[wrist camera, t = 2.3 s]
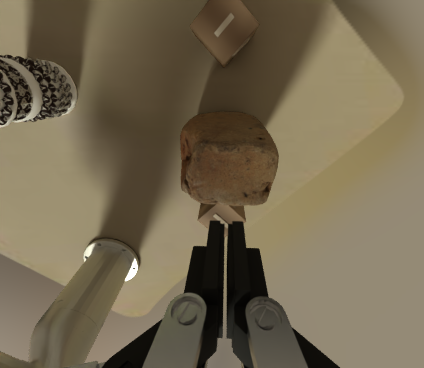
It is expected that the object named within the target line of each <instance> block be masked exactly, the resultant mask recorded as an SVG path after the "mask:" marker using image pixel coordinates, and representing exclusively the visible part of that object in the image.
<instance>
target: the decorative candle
mask: <svg viewBox="0 0 424 368" xmlns="http://www.w3.org/2000/svg"><path fill="white" fill-rule="evenodd" d="M35 61H36V62H34V60H33V59H32V58H30V57H28V58H27V59H24V58H22V57H19V56H16V57H15V58H14V57H13V56H11V55H5V56H2V55H0V128H1V127H4V126H8V125H9V124H10V123H11V122H21V121H23V122H28V121H29V120H30V121H32V122H35V121H37V120H38V119H40V120H43V119H45V118H54V117H59V116H61V115H65V114H68V113H70V112H71V111H72V110H73V109H74V108H75V105H76V102H77V89H76V86H75V84H74V82H73V79H72V77H71V76H70V75H69V74H68V73H67V72H66V70H65V69H64V68H63V67H61V66H59V65H58V64H56V63H54V62H52V61H45V60H40V59H36V60H35Z"/></svg>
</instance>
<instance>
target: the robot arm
mask: <svg viewBox="0 0 424 368" xmlns="http://www.w3.org/2000/svg"><path fill="white" fill-rule="evenodd" d="M224 232H225V224H221V221H217V220H210V224H209V232H208V240H207V246H194V247H193V250H192V255H191V260H190V265H189V270H188V275H187V280H186V286H185V290H184V293H183V294H180V295H178V296H176V297H175V298H174V299H173V300H172V301H171V302H170V304H169V305H168V308H167V310H166V313H165V315H164V318H163V319H162V320H160V321H159V322H158V323H156V324H155V325H154V326H152V327H151V328H150V329H148V330H147V331H146V332H144V333H143V334H142V335H140V336H139V337H138V338H136V339H135V340H134V341H132V342H131V343H129V344H128V345H127V346H125V347H124V348H123V349H121V350H120V351H119V352H117V353H116V354H115V355H113V356H112V357H111V358H110V359H109V360H108V361H107V362H104V363H99V364H98V362H97V361H94V362H89V363H84V362H85V360H86V358H87V356H88V354H89V352H90V350H91V348H92V345H93V344H94V342H95V339H96V337H97V336H98V333H99V332H100V330H101V327H102V326H103V324H104V322H105V319H106V317H107V316H108V313H109V312H110V310H111V308H112V306H113V304H114V302H115V300H116V298H117V296H118V294H119V292H120V290H121V288H122V286H123V284H124V282H125V281H127V280H130V279H131V278H133V277H134V276H135V274H136V272H137V270H138V268H139V260H138V257H137V255H136V254H135V252H134V251H133V250H132V249H131V248H130V247H129V246H127V245H126V244H124V243H122V242H120V241H117V240H113V239H99V240H96V241H94V242H92V243H91V244H89V246H88V247H87V248H86V249H85V251H84V255H83V257H84V263H83V265H82V266H81V267H80V269H79V270H78V271H77V272H76V274H75V275H74V276H73V278H72V279H71V280H70V281H69V283H68V284H67V285H66V287H65V288H64V289H63V290H62V292H61V293H60V294H59V296H58V297H57V298H56V299H55V301H54V302H53V303H52V305H51V306H50V307H49V309H48V310H47V311H46V312H45V314H44V315H43V316H42V317H41V319H40V320H39V321H38V323H37V324H36V326H35V328H34V331H33V333H32V335H31V340H30V346H29V361H28V362H26V361H24V360H19V359H17V358H15V357H12V356H10V355H8V354H5V353H3V352H1V351H0V368H207V363H208V359H209V358H210V357H211V356H212V355H213V354H214V353H215V352H216V348H217V338H222V336H223V335H222V334H223V289H224V287H223V286H224ZM227 338H229V339H232V348H233V353H234V354H235V355H236V356H237V357H238V358H239V359H240V361H241V367H242V368H340V367H339V366H338V365H336V364H335V363H334V362H333V361H332V360H330V359H329V358H328V357H327V356H326V355H324V354H323V353H322V352H321V351H320V350H318V349H317V348H316V347H315V346H314V345H313V344H311V343H310V342H309V341H308V340H306V339H305V338H304V337H303V336H302V335H300V334H299V333H298V332H297V331H296V330H295V329H293V328H292V327H291V325H290V322H289V320H288V317H287V315H286V313H285V311H284V309H283V307H282V306H281V305H280V304H279V303H278V302H277V301H275V300H273V299H272V298H269V297H268V292H267V287H266V281H265V276H264V271H263V266H262V260H261V255H260V250H259V249H258V248H246V243H245V234H244V225H243V221H232V224H228V242H227Z"/></svg>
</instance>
